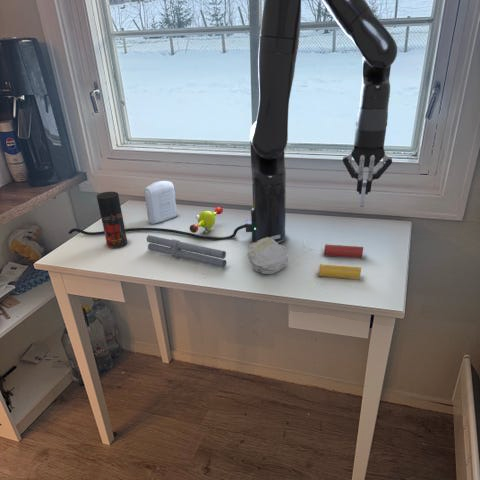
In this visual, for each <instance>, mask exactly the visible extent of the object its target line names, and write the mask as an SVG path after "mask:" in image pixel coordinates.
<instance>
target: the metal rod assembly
mask: <svg viewBox="0 0 480 480" xmlns="http://www.w3.org/2000/svg"><path fill="white" fill-rule="evenodd" d="M146 242H147V243H148V244H147V250H149V251H152V252H157V253H160V254H165V255H169V256H171V257H174V258H178V259H179V258H181V259H186V260H190V261H194V262H198V263H202V264H206V265H211V266H216V267H220V268H226V266H227V260H226V259H225V258H226V257H227V251H225V250H220V249H217V248H211V247H207V246H202V245H199V244H193V243H190V242H184V241H181V240H179V239H173V238H171V239H169V238H166V237H165V238H164V237H159V236H155V235H151V234H148V235H147V236H146Z"/></svg>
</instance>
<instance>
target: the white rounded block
mask: <svg viewBox="0 0 480 480" xmlns="http://www.w3.org/2000/svg"><path fill="white" fill-rule="evenodd" d="M143 192H144V193H143V194H144V201H145V208H146V213H147V220H148V222H149V223H150V224H152V225H155V224H159V223H162V222H164V221H167V220H170V219H173V218H176V217H177V216H178V211H177V202H176V192H175V187H174V184H173V182H172V181H170V180H159V181H155V182H153V183H151V184H149V185H148V186H146V187H145V188H144V191H143Z"/></svg>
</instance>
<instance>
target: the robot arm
mask: <svg viewBox="0 0 480 480" xmlns="http://www.w3.org/2000/svg"><path fill="white" fill-rule="evenodd" d="M321 2H322V3H323V5H324V6H325V8H326V9H327V11H328V12H329V14H330V15H331V16H332V18H333V19H334V20H335V22H336V24H337V25H338V26H339V27H340V29H341V30H342V31H343V33H344V34H345V35H346V36H347V37H348V38H349V39H350V40H351V41H352V42H353V43H354V45H355V46H356V48H357V49H358V51H359V52H360V54H361V56H362V71H361V72H362V73H361V78H362V79H361V80H362V81H361V87H360V95H359V104H358V110H357V114H356V122H355V130H354V131H355V133H354V141H353V148H352V149H351V152H350V153H349V154H347V155H343V157H342V163H343V165H344V166H345V169H346V170H347V172H348V174H349V175H350V177H351V179H356V181H357V184H356V192H357V193H358V195H361V191H362V183H363V180H364V168H368V171H367V172H368V173H367V178H366V181H367V183H366V191H365V196H366V195H368V194H369V193H371V191H372V184H373V181H374V180H379V179H380V178H381V177H382V176H383V174H384V173H385V172H386V171H387V170H388V168H389V167H390V166H391V165H392V164H393V157H390V156H388V155H386V151H385V148H384V147H385V141H386V135H387V134H386V133H387V126H388V117H389V104H390V96H391V95H390V94H391V82H390V77H391V76H390V75H391V68H392V65H393V64H394V62H395V61H396V59H397V56H398V44H397V42H396V40H395V39H394V37H393V36H392V35H391V33H390V32H389V31H388V29H386V27H385V26H384V25H383V24H382V22H381V21H380V20H379V19H378V17H376V15H375V13H374V11H373V10H372V8H371V6H370V5H369V4H368V3H367V1H366V0H321ZM263 3H264V4H263V11H262V17H261V25H260V31H259V43H258V59H257V65H258V69H257V71H258V88H259V90H258V91H259V99H258V108H257V115H256V121H255V122H254V123H253V124H252V126H251V129H250V131H249V133H250V135H249V143H250V144H249V146H250V169H251V170H250V171H251V183H252V184H251V185H252V187H251V188H252V208H251V210H250V215H251V216H250V217H251V218H247V220H246V222H245V223H244V224H241V225H239V226H237V227H236V228H235V229H234V230H233V233H232V234H231V235H228V236H211V235H209V236H208V235H201V234H196V233H192V232H188V231H182V230H178V229H171V228H161V227H129V228H125V232H126V233H127V232H142V231H143V232H145V231H147V232H149V231H150V232H152V231H153V232H164V233H165V232H166V233H173V234H178V235H183V236H188V237H193V238H196V239H202V240H211V241H212V240H213V241H222V240H223V241H225V240H231V239H233V238H234V237H236V236H237V233H238V231H240V230H242V229H245V233H251V242H252V243H256V242H257V241H259V240H261V239H263V238H266V237H269V238H272V239H274V240H275V241H276V242H277V243H278V244H279V245H280V244H281V243H283V242H285V240H286V203H287V202H286V200H287V199H286V197H287V194H286V193H287V190H286V189H287V188H286V187H287V170H286V160H285V150H286V148H287V145H288V140H289V106H290V99H291V93H292V89H293V88H292V87H293V83H294V79H295V72H296V65H297V60H298V52H299V46H300V39H301V38H300V35H301V23H302V0H264V2H263ZM353 160H354V162H355V164H356V165H357V166H358V172H357V171H356V170H355V168H354V166H353V164H352V162H353ZM381 160H382V161H381ZM380 162H381V163H382V164H381V166H380V167H379V168H378V169H377V170H376V171H375V172H374V168H375V167H376V166H377V165H378V164H379V163H380ZM74 232H77V233H80V234H83V235H86V236H101V235H105V233H104V230H103V231H86V230H83V229H80V228H72V229H70V230H69V231H68V235H71V234H73V233H74ZM81 309H82V312H83V315H84V320H85V324H86V327H90V325H91V324H90V321H89V318H88V314H87V311H86V308H84V307H83V306H82V307H81Z"/></svg>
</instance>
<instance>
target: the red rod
mask: <svg viewBox="0 0 480 480" xmlns="http://www.w3.org/2000/svg"><path fill="white" fill-rule="evenodd" d="M363 254H364V246H356V245H355V246H354V245H343V244H342V245H341V244H340V245H339V244H328V243H327V244H326V243H325V245H324V250H323V256H325V257H338V258H339V257H341V258H352V259H363Z"/></svg>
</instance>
